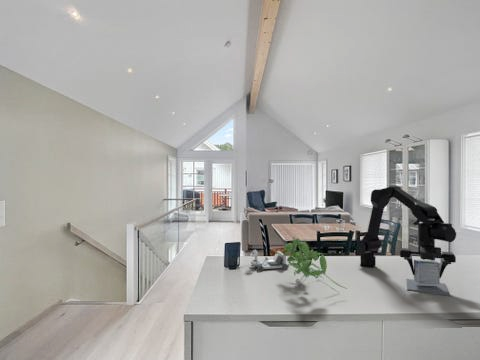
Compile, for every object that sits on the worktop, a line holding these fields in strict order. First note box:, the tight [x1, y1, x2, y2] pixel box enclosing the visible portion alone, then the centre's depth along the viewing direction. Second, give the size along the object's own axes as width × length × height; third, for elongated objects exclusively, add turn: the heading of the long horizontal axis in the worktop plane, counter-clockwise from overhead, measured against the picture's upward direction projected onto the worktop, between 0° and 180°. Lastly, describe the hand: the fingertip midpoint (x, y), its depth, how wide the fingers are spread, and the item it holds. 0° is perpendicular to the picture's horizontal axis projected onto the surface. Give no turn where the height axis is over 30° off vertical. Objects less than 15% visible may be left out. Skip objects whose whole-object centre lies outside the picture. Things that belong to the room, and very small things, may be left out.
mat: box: [406, 278, 451, 297], centre depth 122 cm, size 14×14×1 cm
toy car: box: [249, 249, 289, 272], centre depth 152 cm, size 18×10×12 cm
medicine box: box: [413, 259, 441, 284], centre depth 122 cm, size 8×4×9 cm, turn 84°
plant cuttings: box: [283, 237, 348, 294], centre depth 124 cm, size 35×17×22 cm
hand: (426, 276), depth 122 cm, fingers closed on medicine box, 9 cm apart
